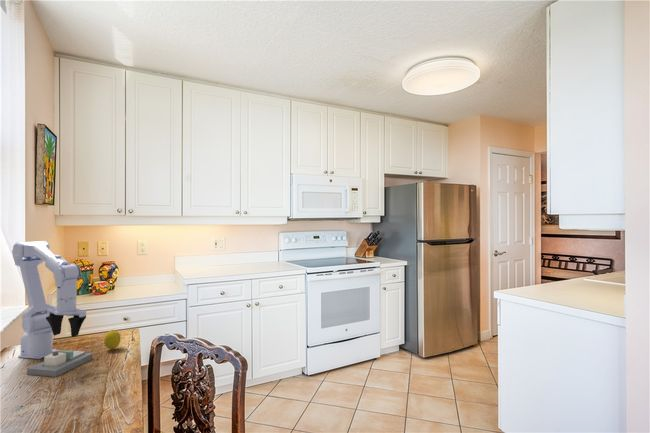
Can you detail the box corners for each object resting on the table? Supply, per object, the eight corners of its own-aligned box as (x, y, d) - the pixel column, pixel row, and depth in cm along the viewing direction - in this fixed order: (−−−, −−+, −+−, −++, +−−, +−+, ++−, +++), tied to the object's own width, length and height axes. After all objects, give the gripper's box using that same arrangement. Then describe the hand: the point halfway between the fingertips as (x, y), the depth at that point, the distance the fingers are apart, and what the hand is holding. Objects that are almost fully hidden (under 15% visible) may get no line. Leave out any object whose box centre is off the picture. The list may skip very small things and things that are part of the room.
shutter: (56, 358, 123) (56, 351, 123) (71, 352, 129) (71, 345, 129) (71, 359, 122) (71, 352, 122) (85, 353, 128) (85, 346, 128)
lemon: (114, 352, 134) (115, 332, 134) (100, 352, 134) (101, 331, 134) (123, 347, 140) (123, 327, 140) (109, 347, 140) (110, 327, 140)
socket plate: (26, 374, 115) (27, 368, 115) (66, 356, 130) (66, 351, 130) (55, 376, 113) (55, 370, 113) (92, 358, 128) (92, 353, 128)
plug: (55, 366, 121) (55, 349, 121) (65, 367, 121) (66, 350, 121) (44, 371, 117) (44, 353, 117) (54, 372, 117) (55, 354, 117)
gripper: (39, 299, 122) (38, 337, 122) (74, 301, 120) (73, 340, 120) (57, 294, 129) (56, 331, 129) (91, 297, 127) (90, 333, 127)
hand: (65, 335), depth 125 cm, fingers open, 7 cm apart
